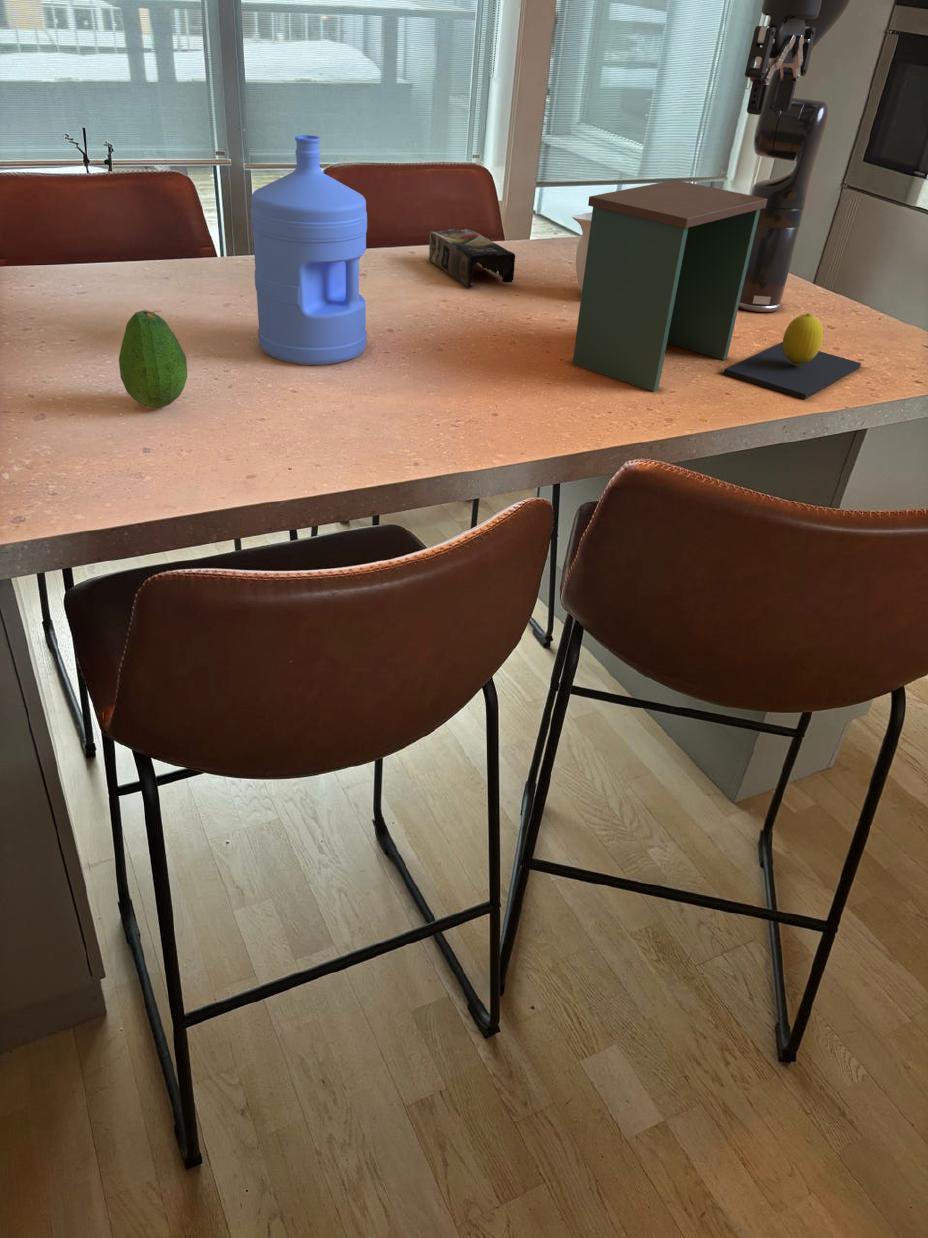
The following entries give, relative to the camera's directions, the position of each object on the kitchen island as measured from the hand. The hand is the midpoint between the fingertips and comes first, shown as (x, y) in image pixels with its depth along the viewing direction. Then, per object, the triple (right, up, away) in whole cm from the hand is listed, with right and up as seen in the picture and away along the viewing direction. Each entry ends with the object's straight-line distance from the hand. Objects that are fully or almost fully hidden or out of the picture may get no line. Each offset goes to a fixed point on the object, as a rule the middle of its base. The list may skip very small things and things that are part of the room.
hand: (768, 112), depth 135 cm
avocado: (-82, -46, -16) cm, 95 cm away
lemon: (+7, -34, +9) cm, 36 cm away
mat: (+7, -34, +10) cm, 36 cm away
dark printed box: (-42, -7, +43) cm, 61 cm away
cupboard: (-14, -33, +9) cm, 37 cm away
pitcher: (-18, -14, +36) cm, 43 cm away
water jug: (-65, -32, +5) cm, 73 cm away
